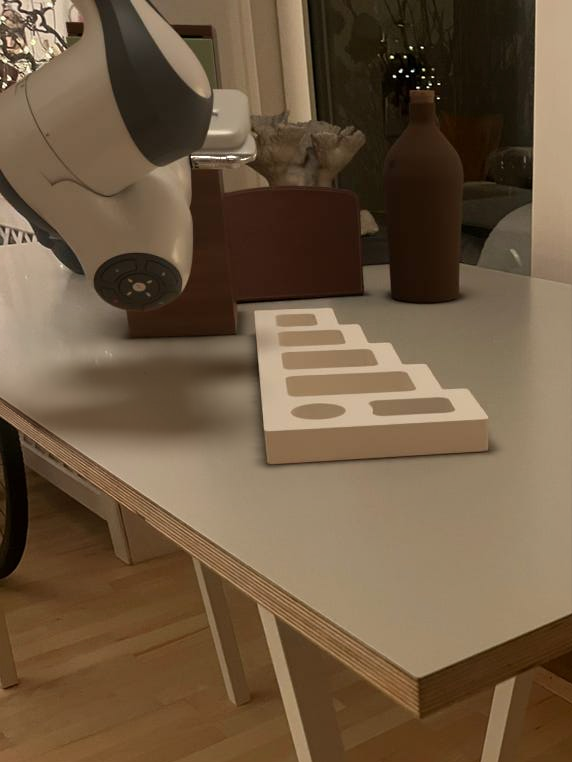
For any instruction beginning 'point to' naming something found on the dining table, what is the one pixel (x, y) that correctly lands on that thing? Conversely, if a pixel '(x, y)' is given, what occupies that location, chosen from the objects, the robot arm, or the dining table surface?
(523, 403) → the dining table surface
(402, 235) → the olive oil
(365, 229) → the coral
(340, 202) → the letter holder
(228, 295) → the stand
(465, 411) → the holder
